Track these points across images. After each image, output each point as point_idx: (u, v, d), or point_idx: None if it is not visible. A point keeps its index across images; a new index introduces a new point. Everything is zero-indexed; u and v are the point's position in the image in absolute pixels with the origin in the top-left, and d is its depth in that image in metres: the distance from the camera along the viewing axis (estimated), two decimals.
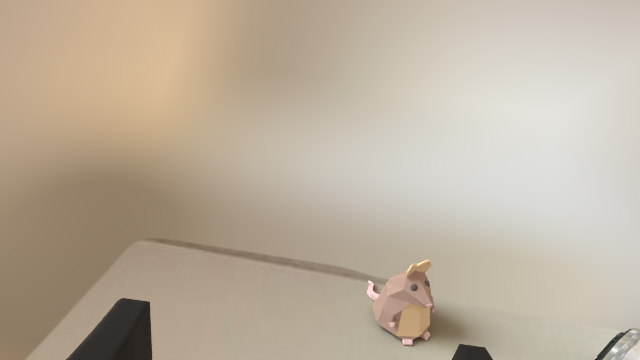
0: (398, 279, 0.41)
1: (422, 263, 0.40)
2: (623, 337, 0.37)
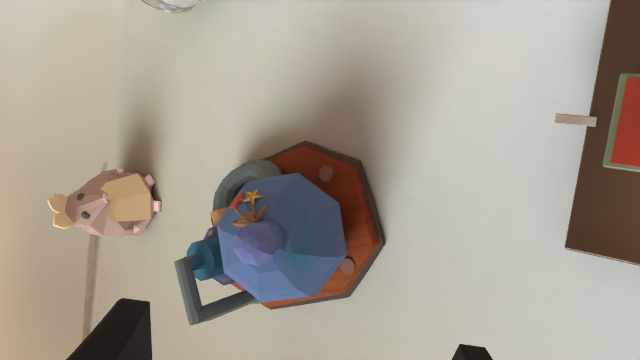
0: (80, 227, 0.34)
1: (52, 207, 0.33)
2: None
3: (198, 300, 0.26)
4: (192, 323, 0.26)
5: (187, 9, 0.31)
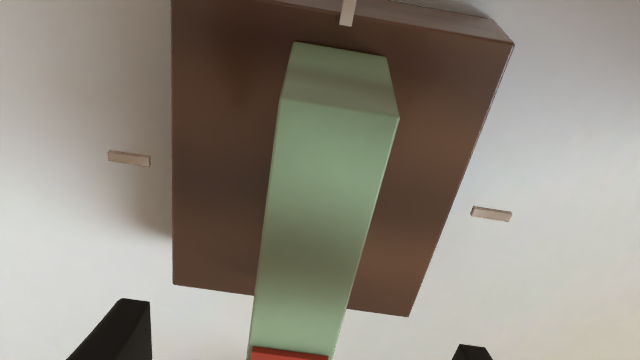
0: None
1: None
2: None
3: None
4: None
5: None
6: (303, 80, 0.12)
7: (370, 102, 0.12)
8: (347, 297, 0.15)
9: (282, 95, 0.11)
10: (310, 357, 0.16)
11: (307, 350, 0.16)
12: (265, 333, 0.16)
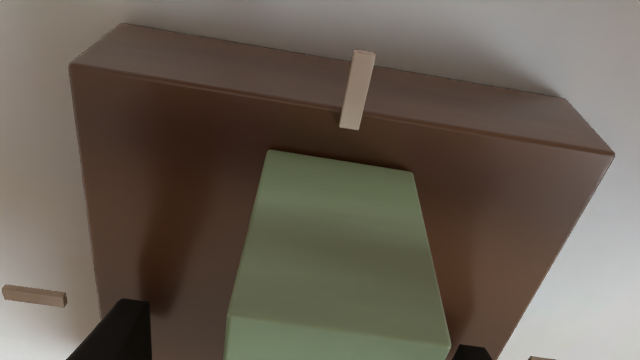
0: None
1: None
2: None
3: None
4: None
5: None
6: (275, 256, 0.07)
7: (395, 309, 0.06)
8: None
9: (232, 309, 0.06)
10: None
11: None
12: None
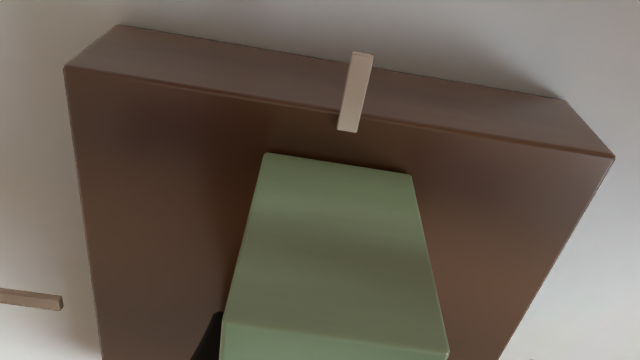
0: None
1: None
2: None
3: None
4: None
5: None
6: (270, 261, 0.07)
7: (392, 314, 0.06)
8: None
9: (227, 315, 0.06)
10: None
11: None
12: None
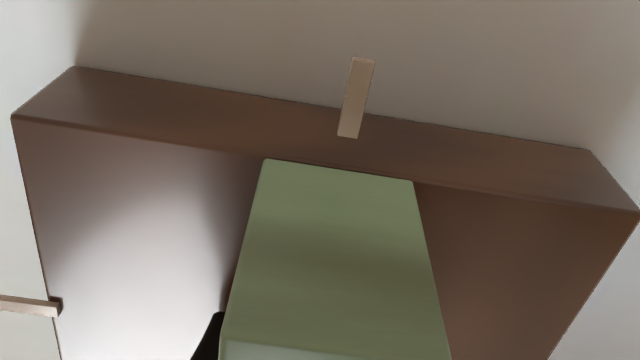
0: None
1: None
2: None
3: None
4: None
5: None
6: (270, 270, 0.07)
7: (394, 326, 0.06)
8: None
9: (226, 327, 0.06)
10: None
11: None
12: None
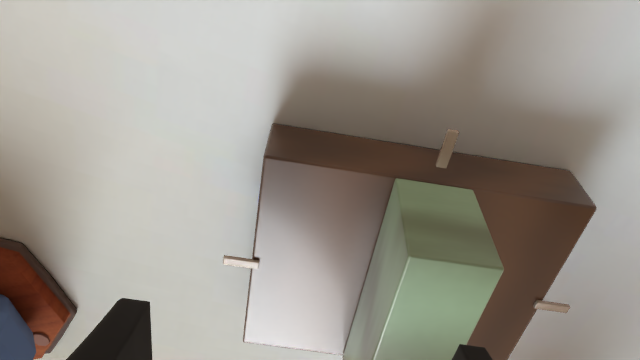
0: None
1: None
2: None
3: None
4: None
5: None
6: (419, 231, 0.15)
7: (477, 254, 0.14)
8: None
9: (410, 253, 0.14)
10: None
11: None
12: None
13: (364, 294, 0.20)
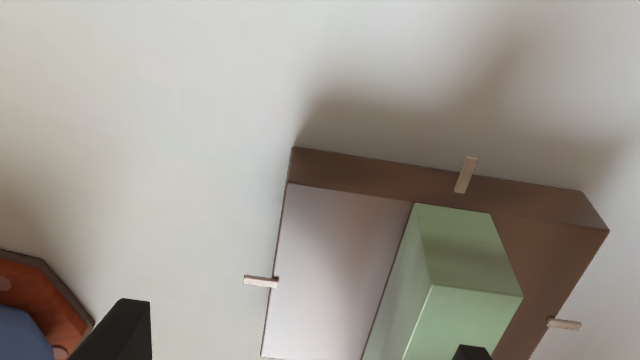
0: None
1: None
2: None
3: None
4: None
5: None
6: (440, 259, 0.15)
7: (497, 282, 0.15)
8: None
9: (433, 281, 0.14)
10: None
11: None
12: None
13: (381, 313, 0.20)
